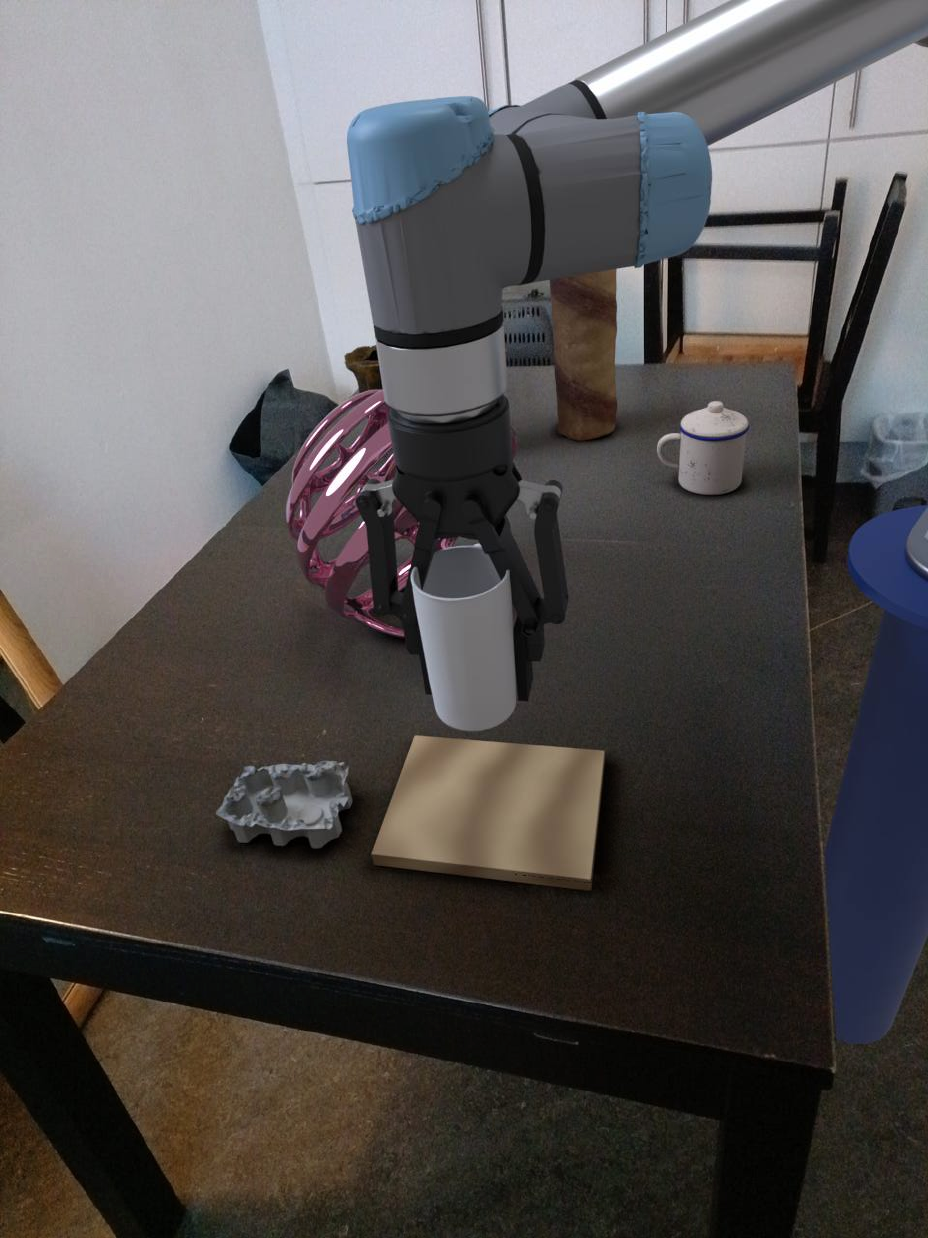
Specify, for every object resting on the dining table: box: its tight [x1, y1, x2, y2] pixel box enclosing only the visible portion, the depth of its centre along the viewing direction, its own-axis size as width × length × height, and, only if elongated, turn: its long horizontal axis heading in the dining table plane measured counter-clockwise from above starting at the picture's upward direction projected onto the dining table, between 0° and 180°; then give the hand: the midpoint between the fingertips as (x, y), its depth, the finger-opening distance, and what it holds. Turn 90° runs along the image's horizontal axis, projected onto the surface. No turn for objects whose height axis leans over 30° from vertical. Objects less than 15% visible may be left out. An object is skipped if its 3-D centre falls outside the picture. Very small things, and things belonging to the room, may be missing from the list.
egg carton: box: [215, 760, 353, 849], centre depth 73 cm, size 11×8×4 cm
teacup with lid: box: [656, 400, 750, 496], centre depth 113 cm, size 12×9×12 cm
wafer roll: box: [549, 269, 618, 442], centre depth 123 cm, size 10×11×45 cm
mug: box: [411, 543, 517, 732], centre depth 60 cm, size 10×7×12 cm, turn 165°
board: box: [370, 734, 606, 892], centre depth 71 cm, size 18×14×2 cm
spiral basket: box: [285, 389, 519, 639], centre depth 91 cm, size 28×28×27 cm
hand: (479, 685), depth 63 cm, fingers closed on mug, 6 cm apart
